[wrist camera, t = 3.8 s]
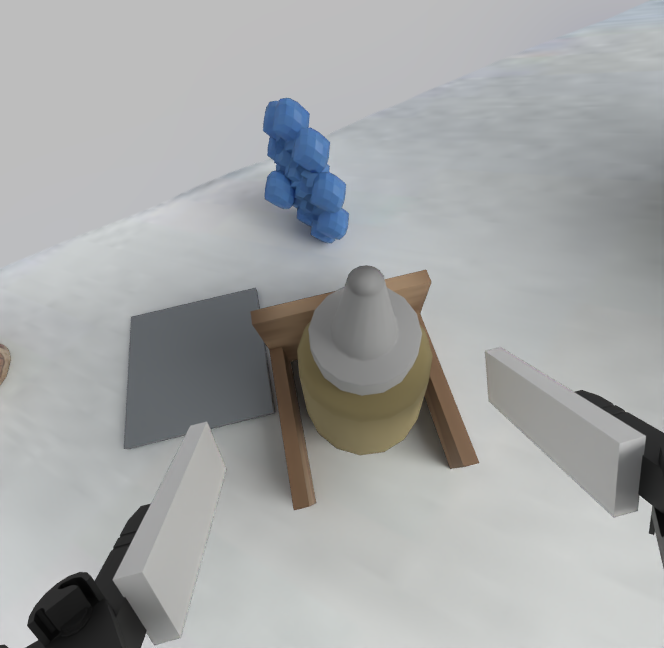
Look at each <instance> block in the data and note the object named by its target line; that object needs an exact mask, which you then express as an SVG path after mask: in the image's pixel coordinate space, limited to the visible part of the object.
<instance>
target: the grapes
mask: <svg viewBox="0 0 664 648" xmlns="http://www.w3.org/2000/svg"><path fill="white" fill-rule="evenodd" d="M309 115H310V114H309V113H308V112H307V111H306V110H305V109H304V108H303V107H302V106H301V105H300V104H299V103H298V102H296V101H294V100H292V99H290V98H283V99H280V100H279V101H272V102H269V104H268V106H267V107H266V111H265V117H264V124H263V131H264V132H265V133H266V134H268V135H269V136H270V138H269V144H268V154H267V155H268V156H269V157H270V158H271V159H273V160H274V163H276V164H277V165H276V171H272V172H271V173H270V174H269V175H268V177H267V182H266V187H265V199H266V200H267V201H269V202H270V203H272V204H274V205H276V206H278V207H280V208H282V209H289V208H291V207H292V206H294V207H296V208H297V219H299V220H300V221H302V222H303V223H305V224H307V225H309V226H311V235H312V236H314V237H315V238H317V239H319V240H321V241H323V242H325V243H332V242H334V241H335V240H336V239H338V240H340V239H341V238H342V237H343V236H344V235H345V234H346V231H347V228H348V220H349V213H348V212H347V211H345V210H344V209H342V206H343V203H344V200H345V192H346V184H345V183H344V182H343V181H342V180H341V179H339V178H338V177H337V176H335V175H333V174H332V173H330V172H329V167H330V166H329V165H328V164H327V162H328V159H329V149H330V142H329V141H328V140H327V139H326V138H325V137H324V136H323V135H321V134H320V133H319V132H318V131H316V130H314V129H312V128H308V127H309Z"/></svg>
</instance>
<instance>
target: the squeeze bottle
mask: <svg viewBox="0 0 664 648" xmlns="http://www.w3.org/2000/svg"><path fill="white" fill-rule="evenodd" d="M297 354H298V367H299V377H300V381H301V386H302V390H303V395H304V399H305V404H306V408H307V413H308V415H309V416H310V418H311V420H312V422H313V424H314V426H315V428H316V430H317V432H318V433H319V434H320V435H321V436H322V437H323V438H325V439H326V440H327V441H328V442H329V443H331V444H332V445H333V446H334V447H336V448H337V449H340V450H344V451H347V452H351V453H354V454H357V455H365V454H373V453H380V452H385V451H386V450H388V449H390V448H391V447H393V446H394V445H396V444H398V443H399V442H401V441H402V440H404V439H405V437H406V436H407V434H408V433H409V431H410V430H411V428H412V427H413V425H414V424H415V422H416V421H417V419H418V416H419V412H420V409H421V405H422V402H423V399H424V395H425V392H426V389H427V385H428V382H429V376H430V370H431V364H432V357H433V356H432V352H431V348H430V345H429V341H428V337H427V334H426V331H425V330H424V329H423V327H422V326H421V325H420V324H419V320H418V316H417V313H416V312H415V311H414V310H413V308H412V307H411V306H410V304H409V303H408V302H407V301H406V299H405V298H404V297H402V296H400V295H399V294H397V293H395V292H394V291H392V290H390V289H389V288H387V287H386V283H385V279H384V275H383V274H382V273H381V272H380V270H378V269H376V268H375V267H372V266H367V265H366V266H359V267H357V268H355V269H353V270H352V271H351V273H350V274H349V275H348V278H347V281H346V284H345V287H343V288H341V289H339V290H337V291H336V292H334V293H332V294H330V295H328V296H327V297H326V298H325V299H324V300H323V302H322V303H321V304H320V305H319V306H318V307H317V308H316V309H315V311H314V314H313V317H312V320H311V321H310V322H309V323H308V325H307V326H306V327H305V329H304V332H303V335H302V338H301V341H300V343H299V346H298V349H297Z"/></svg>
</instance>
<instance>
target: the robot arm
mask: <svg viewBox="0 0 664 648" xmlns="http://www.w3.org/2000/svg"><path fill="white" fill-rule="evenodd" d="M485 359H486V373H487V386H488V400H489V402H490V403H491V404H492V405H493V406H494V407H495V408H496V409H498V410H499V411H500V412H501V413H502V414H503V415H504V416H505V417H506V418H507V419H508V420H509V421H510V422H512V423H513V424H514V425H515V426H516V427H517V428H518V429H519V430H520V431H521V432H522V433H523V434H524V435H526V436H527V437H528V438H529V439H530V440H531V441H532V442H533V443H534V444H535V445H536V446H537V447H538V448H539V449H541V450H542V451H543V452H544V453H545V454H546V455H547V456H548V457H549V458H550V459H551V460H552V461H553V462H555V463H556V464H557V465H558V466H559V467H560V468H561V469H562V470H563V471H564V472H565V473H566V474H567V475H568V476H570V477H571V478H572V479H573V480H574V481H575V482H576V483H577V484H578V485H579V486H580V487H581V488H582V489H584V490H585V491H586V492H587V493H588V494H589V495H590V496H591V497H592V498H593V499H594V500H595V501H596V502H597V503H599V504H600V505H601V506H602V507H603V508H604V509H605V510H606V511H607V512H608V513H609V514H610V515H611V516H613V517H618V516H621V515H625V514H629V513H632V512H636V511H638V504H639V495H640V496H641V497H642V498H644V499H645V500H646V501H648V502H649V503H650V504H651V505H653V506H652V513H651V521H650V529H649V534H653V535H654V533H655V532H656V537H657V541H658V546H659V550H660V554H661V559H662V563H663V567H664V433H663V432H661V431H659V430H658V429H656V428H654V427H652V426H651V425H649V424H647V423H645V422H644V421H642V420H640V419H638V418H637V417H635V416H633V415H632V414H630V413H628V412H625V410H623V409H621V408H619V407H618V406H616V405H615V406H614V405H613V404H612V403H611V402H609V401H607V400H606V399H604V398H602V397H600V396H598V395H595V394H592V393H589V392H586V391H583V390H580V391H576V392H573V391H572V390H570V389H568V388H567V387H565V386H563V385H562V384H560V383H559V382H557V381H555V380H554V379H552V378H550V377H549V376H547V375H545V374H544V373H542V372H541V371H539V370H537V369H536V368H534V367H532V366H531V365H529V364H528V363H526V362H524V361H523V360H521V359H519V358H518V357H516V356H515V355H513V354H511V353H510V352H508V351H506V350H505V349H503V348H502V347H498V348H494V349H490V350H486V351H485ZM226 470H227V469H226V467H225V464H224V462H223V459H222V457H221V454H220V452H219V449H218V447H217V445H216V442H215V440H214V437H213V435H212V432H211V430H210V427H209V425H208V423H207V422H203V423H199V424H195V425H191V426H190V427H189V429H188V431H187V433H186V435H185V437H184V439H183V441H182V443H181V445H180V447H179V449H178V451H177V453H176V455H175V457H174V459H173V461H172V463H171V465H170V467H169V469H168V471H167V473H166V475H165V477H164V479H163V481H162V483H161V485H160V487H159V489H158V491H157V493H156V495H155V497H154V499H153V501H152V503H151V504H148V505H144V506H141V507H140V508H139V509H138V510H137V511H136V512H135V513H134V514H133V516H132V517H131V518H130V519H129V520H128V522H127V523H126V525H125V527H124V529H123V531H122V532H121V534H120V538H118V540H117V541H116V543H115V545H114V547H113V548H114V549H113V550H112V551H111V552H110V554H109V556H108V558H107V560H106V561H105V563H104V565H103V567H102V569H101V570H100V572H99V574H98V576H97V578H96V579H95V581H94V580H93V579H92V577H91V576H90V575H89V574H88V573H87V572H79V573H76V574H73V575H71V576H68V577H67V578H65V579H64V580H62V581H60V582H59V583H57V584H56V585H55V586H54V587H53V588H51V589H50V590H49V591H48V592H47V593H46V594H45V595H44V596H43V597H42V598H41V599H40V601H39V602H38V603H37V604H36V605H35V607H34V609H33V611H32V612H31V614H30V616H29V619H28V624H27V626H28V627H29V629H30V630H31V631H32V632H33V633H34V635H35V636H36V637H37V638H38V641H36V642H34V643H33V644H31V645H29V646H27V647H26V648H141V646H142V643H143V640H144V637H145V634H146V633H147V635H148V636H149V638H150V639H151V641H152V642H153V644H154V645H157V644H161V643H164V642H168V641H171V640H175V639H179V638H181V636H182V632H183V628H184V625H185V621H186V617H187V614H188V610H189V606H190V602H191V599H192V595H193V591H194V588H195V584H196V580H197V577H198V573H199V569H200V566H201V562H202V558H203V554H204V551H205V547H206V543H207V540H208V536H209V532H210V529H211V525H212V521H213V518H214V514H215V510H216V506H217V503H218V499H219V495H220V492H221V488H222V484H223V481H224V477H225V473H226ZM0 648H8V647H7V646H6V645H0Z"/></svg>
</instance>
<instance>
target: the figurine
mask: <svg viewBox="0 0 664 648" xmlns="http://www.w3.org/2000/svg"><path fill="white" fill-rule="evenodd" d="M10 361H11V356H10V352H9V350H8V348H7V347H5V346H4V345H2V344H0V385H1V384H2V382H3V381H4V379H5V378H6V376H7V372H8V369H9V365H10Z"/></svg>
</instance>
